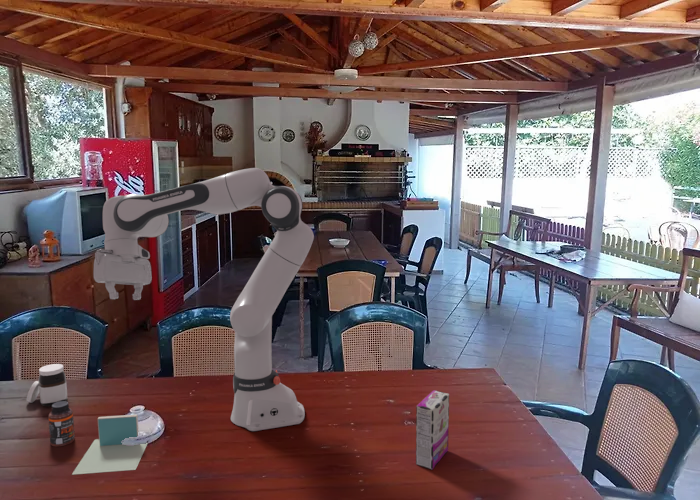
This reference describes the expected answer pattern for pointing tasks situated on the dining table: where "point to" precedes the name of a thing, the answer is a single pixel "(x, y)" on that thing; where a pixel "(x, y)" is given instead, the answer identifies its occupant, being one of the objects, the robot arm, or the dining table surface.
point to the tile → (117, 429)
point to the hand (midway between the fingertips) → (126, 299)
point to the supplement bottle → (61, 424)
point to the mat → (110, 458)
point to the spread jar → (49, 385)
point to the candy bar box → (432, 429)
